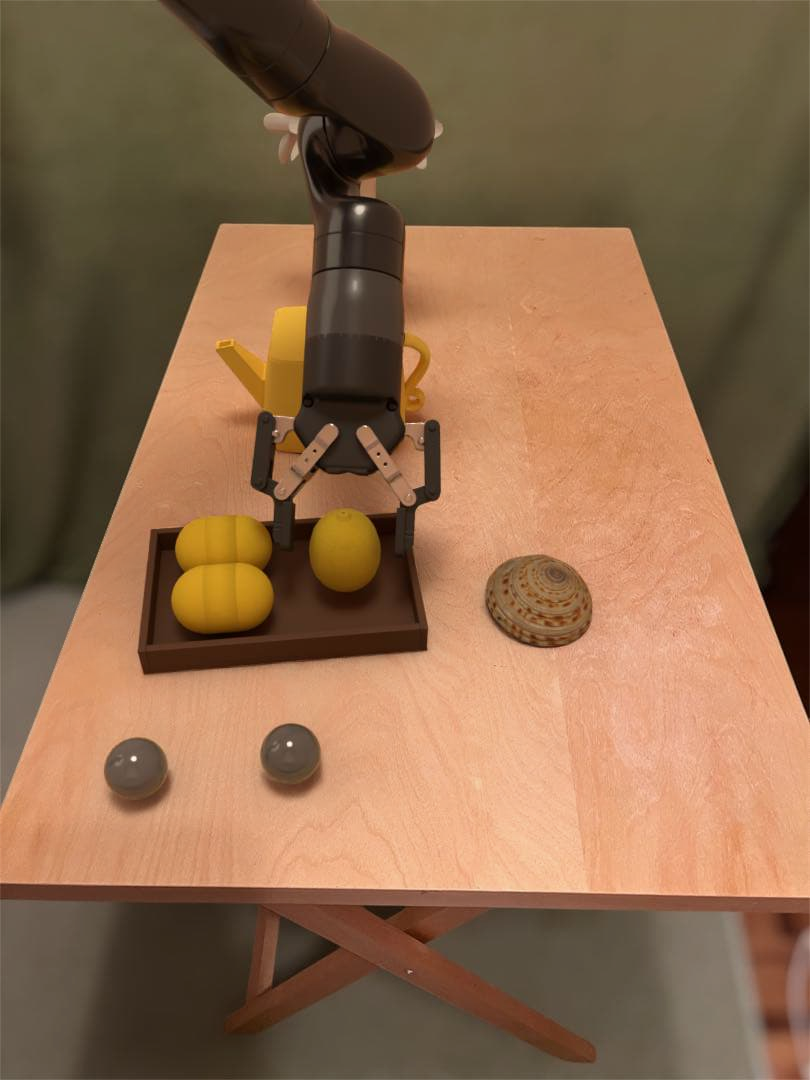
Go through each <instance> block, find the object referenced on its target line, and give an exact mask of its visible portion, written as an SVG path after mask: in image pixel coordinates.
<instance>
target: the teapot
mask: <svg viewBox="0 0 810 1080" xmlns="http://www.w3.org/2000/svg"><path fill="white" fill-rule="evenodd" d="M306 312H307V305H301V306H300V305H297V306H296V305H295V306H285V307H280V308H278V309H277V310H275V313H274V318H273V322H272V326H271V327H272V328H271V333H270V338H269V343H268V344H269V346H268V351H267V358H266V361H263V360H262V359H261V358H259V357H258V356H257V355H255V354H254V353H252V352H251V351H250V350H248V349H247V348H246V347H244V346H242V345H241V344H240V343H238V342H237V341H236V339H235V338H229V339H224V340H218V341H216V342H215V352H216V354H218V357H220V359H222V361H223V362H224V363H225V365H226V366H227V367H228V368H229V369H230V371H231V372H232V373H233V374H234V375H235V377H236V378H237V379H238V381H239V382H240V383H241V384H242V386H243V387H244V388H245V389H246V390H247V392H248V393H249V394H250V395H251V396H252V398H253V399H254V401H255V402H256V403H257V404H258V405H259V407H260V408H261V409H263V411H268V412H270V413H271V414H272V415H275V416H284V417H293V418H295V417H296V416H297V414H298V412H299V410H300V407H301V401H302V383H303V365H304V347H305V328H306ZM404 347H407V348H411V349H413V350H415V351H417V353H419V360H418V362H417V364H416V366H415V368H414V369H413V371H412V372H411V374H410V375H409V376H408V378H407V379H406V381H405V370H404V364H403V365H402V384H401V404H400V414H401V417H402V419H403V421H404V423H406V413H414V412H418V411H420V410H421V409H422V408H423V407H424V405H425V402H426V395H425V392H424V391H423V390H422V389H421V388H419V387H417V386H418V385H419V384H420V382H421V381H422V380H423V378H424V377H425V374H426V373H427V371H428V369H429V366H430V363H431V352H430V351H431V350H430V348H429V346H428V345H427V344H426V342H425V341H424V340H423V339H422V338H420V337H419V336H417V335H415V334H413V333H409V332H405V342H404V345H403V348H404ZM410 397H416V398H415V399H409V398H410ZM400 445H401V443H400V444H399V446H398V447H397V448H396V449H395V451H396V450H397V449H399V447H400ZM305 450H306V449H305V447H304V446H303V444H302V443H301V441H300V440H299V438H298V437H297V435H296V434H295V432H294V431H292V432H290V433H288V434H287V436H286V439H285V441H284V442H283V443H282V444H276V451H278V452H284V453H294V454H302V453H303V452H304V451H305Z"/></svg>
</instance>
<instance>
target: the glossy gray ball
mask: <svg viewBox="0 0 810 1080" xmlns="http://www.w3.org/2000/svg"><path fill="white" fill-rule="evenodd" d="M168 770H169V762H168V758H167V755H166V753H165V751H164V749H163V748H162V747H161V746H160V745H159V744H158V743H157V742H155V741H154V740H152V739H150V738H147V737H142V736H133V737H129V738H126V739H123V740H121V741H119V742H118V743H117V744H116V745H115V746H114V747H113V748H112V749H111V750H110V751H109V753H108V754H107V756H106V758H105V761H104V766H103V778H104V781H105V783H106V786H107V787H108V789H109V790H110V791H111V792H112V793H113V794H114V795H116V796H117V797H118V798H121V799H124V800H127V801H141V800H145V799H147V798H149V797H151V796H153V795H154V794H155V793H156V792H158V791H159V790H160V788H162V786H163V784H164V783H165V781H166V778H167V775H168Z"/></svg>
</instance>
